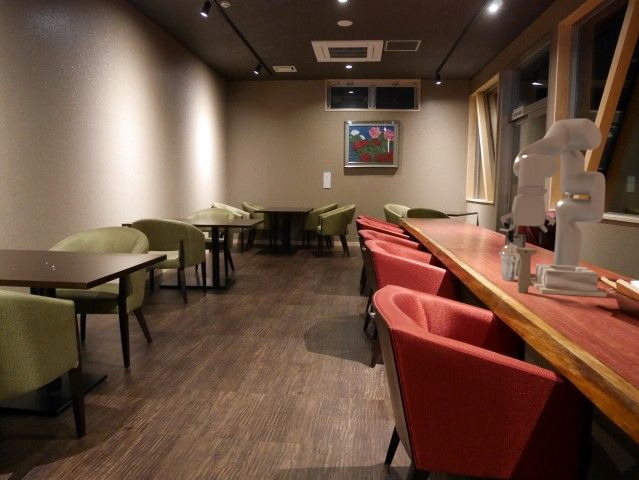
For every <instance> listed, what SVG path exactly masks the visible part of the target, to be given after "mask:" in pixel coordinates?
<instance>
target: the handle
mask: <svg viewBox="0 0 639 480" xmlns="http://www.w3.org/2000/svg"><path fill="white" fill-rule="evenodd" d="M516 252H517V253H518V254H520V264H519V271H518V275H517V287H518V288H517V290H518V292H519V293H522V294H523V293H524V294H527V293H529V289H530V285H531V284H530V278H531V276H532V275H531V274H532V273H531V272H532V270H531V266H532V265H531V264H532V263H531V262H532V256H533V255H535V254H536V253H537V248H533V247H532V248H531V247H525V248H516Z"/></svg>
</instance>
